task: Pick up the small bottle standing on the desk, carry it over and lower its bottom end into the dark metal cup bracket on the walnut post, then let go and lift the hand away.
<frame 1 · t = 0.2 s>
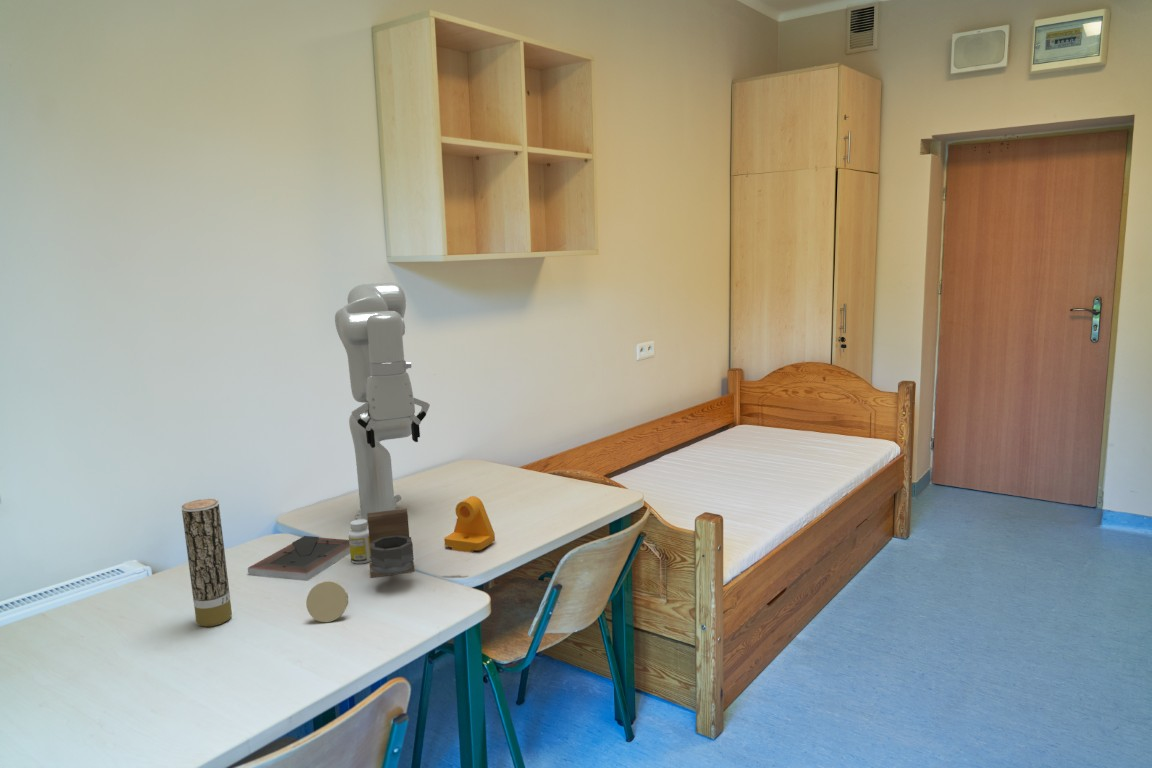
hand: (394, 443, 182), 31 cm above the table, tool pointing down, fingers open, 9 cm apart
picture frame: (306, 563, 197), on the table
supplement bottle: (362, 561, 195), on the table
cup bracket: (394, 585, 179), on the table
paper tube: (214, 621, 165), on the table
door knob: (331, 613, 167), on the table
bracket: (469, 547, 202), on the table
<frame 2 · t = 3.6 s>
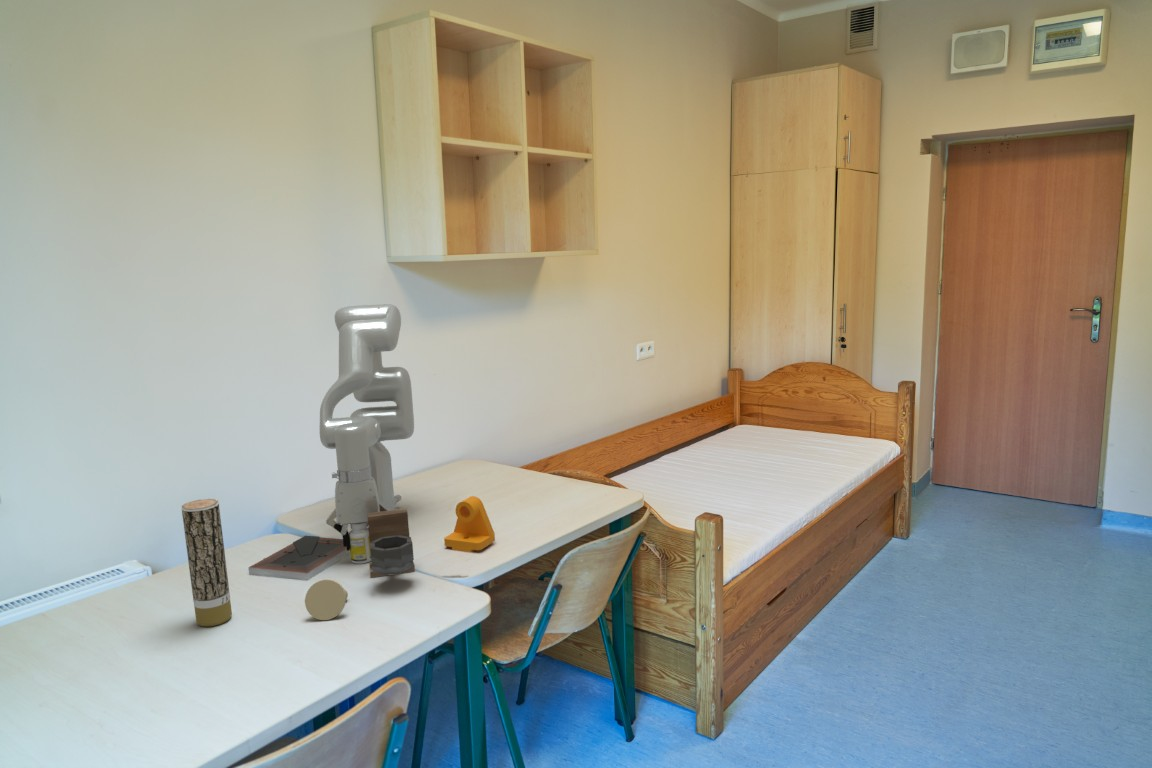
hand: (361, 546, 195), 4 cm above the table, tool pointing down, fingers closed on supplement bottle, 5 cm apart
supplement bottle: (362, 560, 195), on the table, touching gripper
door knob: (330, 611, 168), on the table
everything else where it was.
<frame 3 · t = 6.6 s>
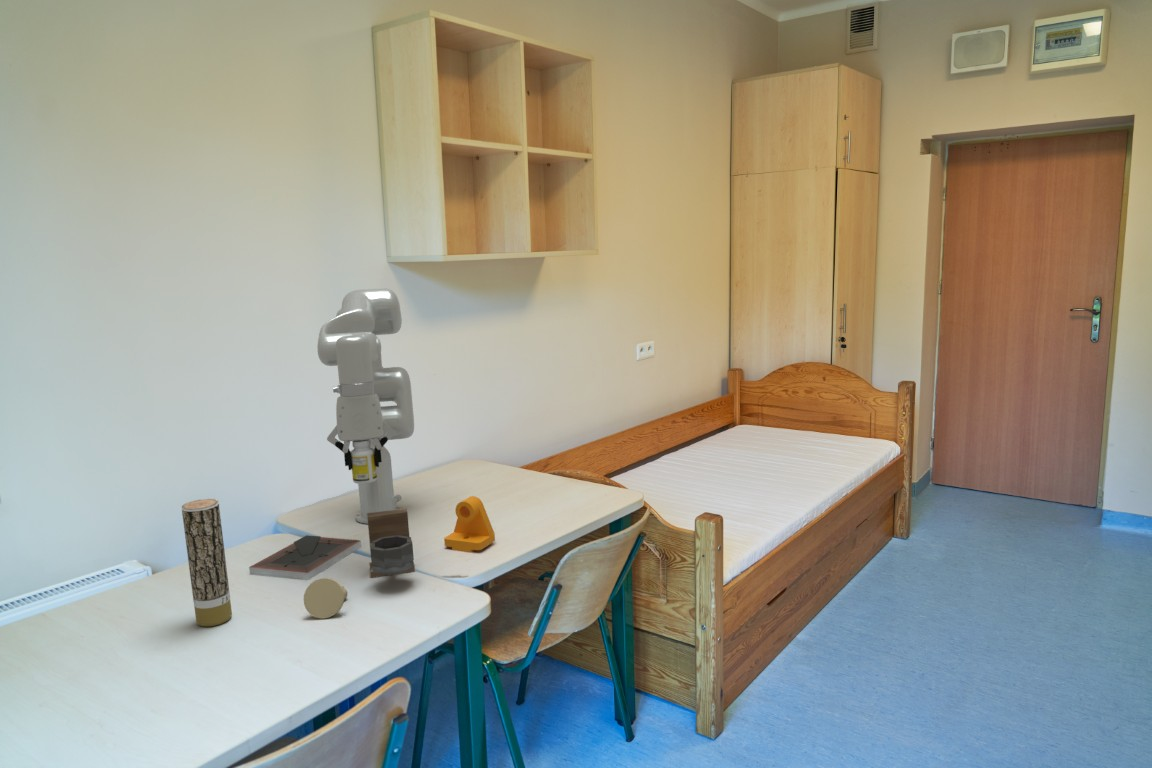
hand: (363, 466, 185), 25 cm above the table, tool pointing down, fingers closed on supplement bottle, 5 cm apart
supplement bottle: (365, 482, 186), point 21 cm above the table, touching gripper
when the fingers open (11 cm above the table, at t = 10.0 s): supplement bottle drops 1 cm, resting on cup bracket.
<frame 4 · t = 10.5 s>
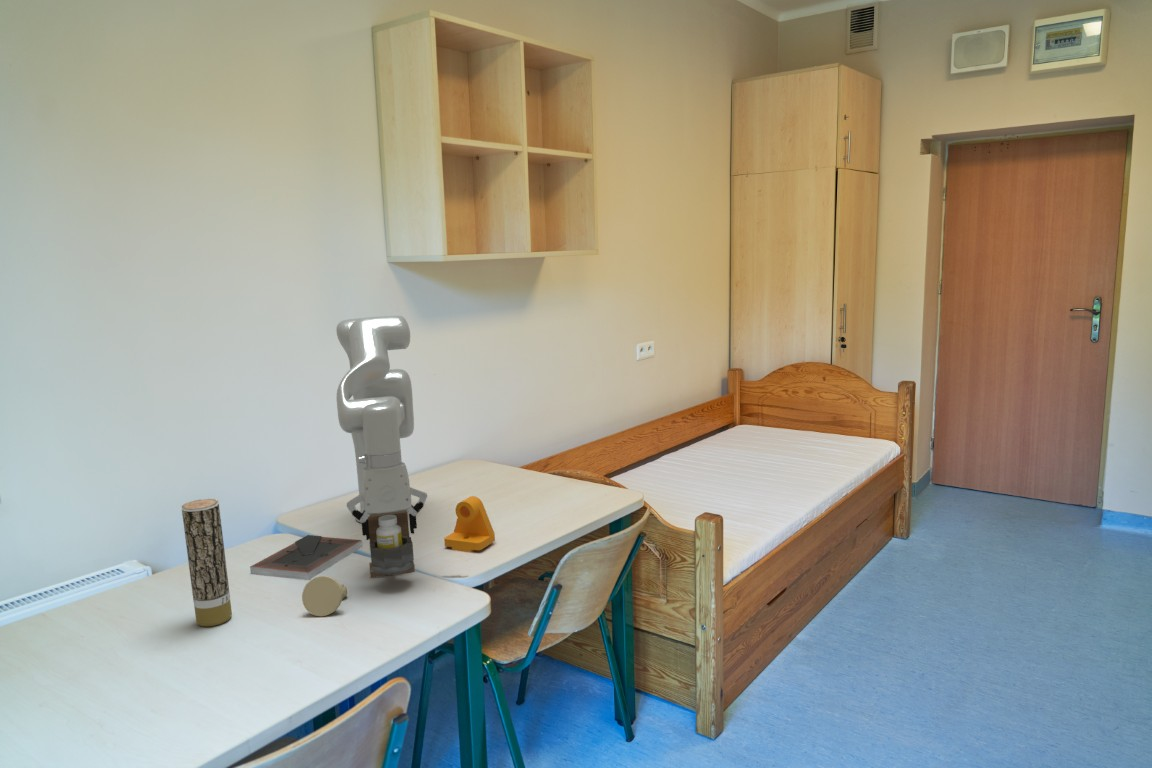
hand: (390, 534, 177), 12 cm above the table, tool pointing down, fingers open, 9 cm apart
supplement bottle: (391, 560, 178), point 6 cm above the table, touching cup bracket
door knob: (328, 607, 170), on the table
everything else where it was.
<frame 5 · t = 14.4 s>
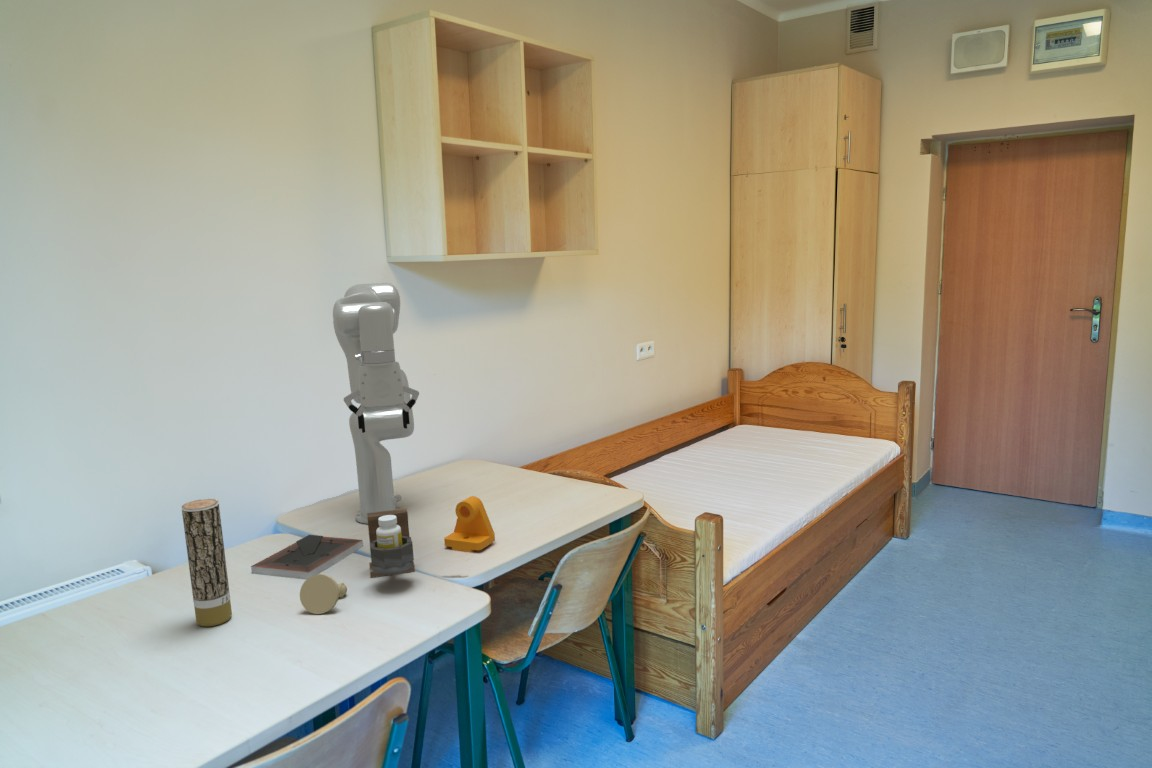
hand: (384, 429, 189), 32 cm above the table, tool pointing down, fingers open, 9 cm apart
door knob: (327, 605, 171), on the table
everything else where it was.
at the end: supplement bottle 0.3 cm off-centre on the cup bracket, point 5.8 cm above the cup bracket's base; supplement bottle tilted 0°; the gripper is holding nothing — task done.
